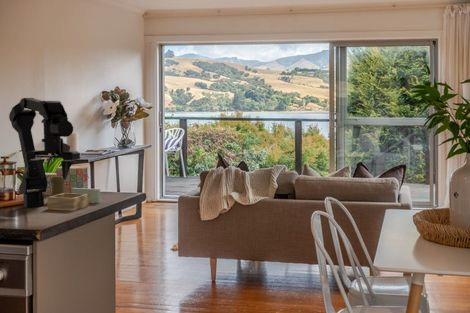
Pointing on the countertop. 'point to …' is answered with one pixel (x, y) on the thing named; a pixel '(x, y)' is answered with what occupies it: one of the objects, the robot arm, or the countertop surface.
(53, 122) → the robot arm
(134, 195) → the countertop surface
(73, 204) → the socket block
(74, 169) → the stack of blocks
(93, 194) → the track and backstop
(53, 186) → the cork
